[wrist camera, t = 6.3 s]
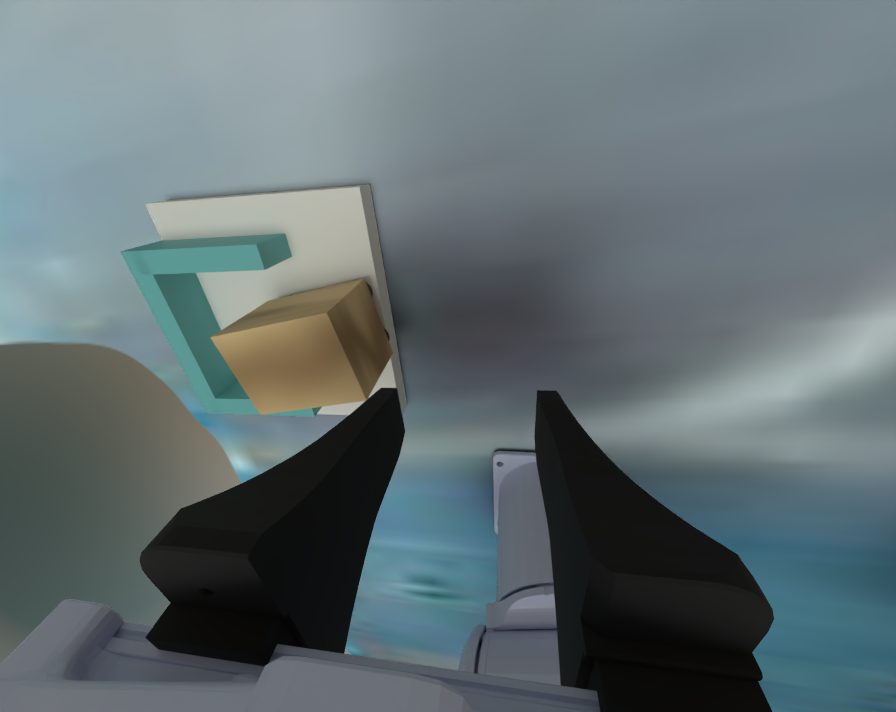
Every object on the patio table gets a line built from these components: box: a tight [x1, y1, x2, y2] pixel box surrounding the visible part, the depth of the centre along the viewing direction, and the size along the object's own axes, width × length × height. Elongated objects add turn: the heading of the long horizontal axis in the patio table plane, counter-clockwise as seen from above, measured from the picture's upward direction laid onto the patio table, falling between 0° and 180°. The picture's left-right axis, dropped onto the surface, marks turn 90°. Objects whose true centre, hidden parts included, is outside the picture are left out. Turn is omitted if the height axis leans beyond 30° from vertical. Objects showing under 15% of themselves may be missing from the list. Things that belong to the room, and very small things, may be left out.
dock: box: [121, 184, 407, 417], centre depth 21 cm, size 14×12×4 cm
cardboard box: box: [210, 278, 393, 415], centre depth 18 cm, size 4×6×5 cm
